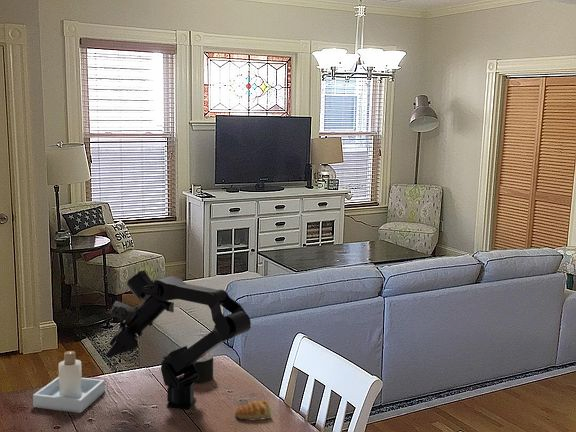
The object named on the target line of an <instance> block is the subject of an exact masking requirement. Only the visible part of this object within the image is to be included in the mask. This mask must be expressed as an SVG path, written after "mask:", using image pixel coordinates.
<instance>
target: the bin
mask: <svg viewBox="0 0 576 432" xmlns="http://www.w3.org/2000/svg"><path fill="white" fill-rule="evenodd" d="M105 380H106V379H99V378H98V379H97V378H89V377H82V397H81V398H80V399H75V398H66V397H59V376H57V377H56V378H55V379H52V380H51V381H50V382H49V383H48V384H46V385H45V386H44V387H41V388H40V389H39V390H38V391H37V392H35V393H34V394H32V402H33V403H32V404H33V405H32V406H33V408H36V407H37V409H38V408H39V409H45V410H46V409H47V410H54V411H62V412H68V413H69V412H70V413H78V414H81V413H82V412H83V411H85V410H86V409H87V408H88V407H89V406H91V404H92V403H93V402H95V401H96V400H97V399H99V398H100V396H102V395H103V394H104V393H105V392H106V381H105Z"/></svg>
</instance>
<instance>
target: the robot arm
mask: <svg viewBox="0 0 576 432" xmlns="http://www.w3.org/2000/svg"><path fill="white" fill-rule="evenodd" d="M126 285H127V287H128V288H129V289H130V291H131V292H132V294H133V295H134V296H135V297H136V298H137V300H138V301H143V302H142V303H141V304H140V305H136V306H135V307H133V306H130V305H128V304H126V303H123V302H121V301H118V300H115V302H113V305H112V308H111V309H110V313H109V315H110V317H112V318H113V317H114V318H118V319H120V320H119V327H118V329H117V331H116V332H115V334H114V336H113V337H112V339H111V340H110V341H109V344H108V345H110V346H111V347H110V348H109V349H108V351H107V352H106V354H105V357H106V358H108V359H109V358H112V357H115V356H118V355H120V354H124V353H127V352H131V351H135V349H137V347H138V346H139V342H140V341H139V340H140V337H141V336H142V335H143V334H144V333H143V332H145V330H146V329H147V328H148V327H151V326H152V325H153V324H154V321H155V320H156V319H158V318H159V317H160V316H161V315H162V314H163V312H165V311H166V312H169V313H174V311H175V310H174V308H175V307H174V305H175V302H174V301H173V300H180V301H185V302H189V303H194V304H195V303H196V304H199V305H205V306H207V307H208V308H209V309H210V312H211V318H212V322H213V323H214V327H213V329H212V331H210V332H209V333H208V334H205V336H203V337H202V338H201V339H199V340H197V342H195V343H194V344H192V345H190V346H189V347H188V346H187V345H185V346H182V347H180V348H177V349H174V350H172V351H171V352H169V353H168V354H167V355H165V356H163V357H162V359H163V360H162V361H161V363H160V366H161V367H160V371H161V375H162V379H163V383H164V385H165V386H166V387H167V388H166V392H167V393H166V401H167V402H168V403H167V404H166V407H168V408H175V409H177V408H178V409H184V410H188V409H190V408H191V407H192V406H193V404H195V401H197V397H195V383H194V381H195V380H198V377H199V372H198V370H197V369H196V367H195V363H196V361H197V360H198V359H199V358H201V357H202V356H204V355H205V354H207V353H208V352H210V353H211V351H213V350H214V349H216V348H217V347H218V346H219V345H221V344H223V343H224V342H225V341H227V340H230V339H233V338H235V337H237V336H240V335H241V334H242V335H243V334H244V333H247V332H249V331H250V330H251V324H252V323H251V319H250V316H249V315H248V313H247V312H246V311H245V309H244V308H243V306H242V305H241V304H239V303H238V302H237V301H235V299H233V298H231V297H230V295H229V294H228V292H227V291H226V290H224V289H220V288H219V289H216V288H211V287H206V286H200V285H195V284H194V285H193V284H189V283H186V282H185V281H183V279H181V278H178V277H176V276H174V275H170V276H166V277H163V278H160V279H156V280H154V281H152V279H151V278H150V277H149V276H148V274H147V272H146V271H145V270H144V269H143V270H139V271H137V273H136V274H135V275H133V276H131V278H129V279H128V280H127V281H126ZM221 307H223V308H224V309H225V310H227V311H228V312H230V313H231V314H227V315H224V314H223V312H222V309H221Z"/></svg>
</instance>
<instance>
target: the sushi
mask: <svg viewBox="0 0 576 432" xmlns="http://www.w3.org/2000/svg"><path fill="white" fill-rule="evenodd" d="M195 367H196V369H197V370H198V372H199V377H198V380H195V381H194V384H205V383H208V382H210V381H212V380H213V379H214V353H211V351H210V352H208V353H207V354H205V355H204V356H202V357H201V358H199V359H198V360H197V361H196V363H195Z"/></svg>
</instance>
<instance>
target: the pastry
mask: <svg viewBox="0 0 576 432" xmlns="http://www.w3.org/2000/svg"><path fill="white" fill-rule="evenodd" d="M234 413H235V414H234V415H235V417H236V418H238V419H239V420H242V419H261V418H268V417H270V418H271V416H272V414H271V413H272V411H271V408H270V404H269V402H268V400H265V399H263V400H262V401H261V400H257V401H253V400H252V401H251V402H249V403H247V404H243V405H241V406H239V407H237V409H236V410H235V412H234ZM268 419H269V418H268ZM261 420H262V419H261Z"/></svg>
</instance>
